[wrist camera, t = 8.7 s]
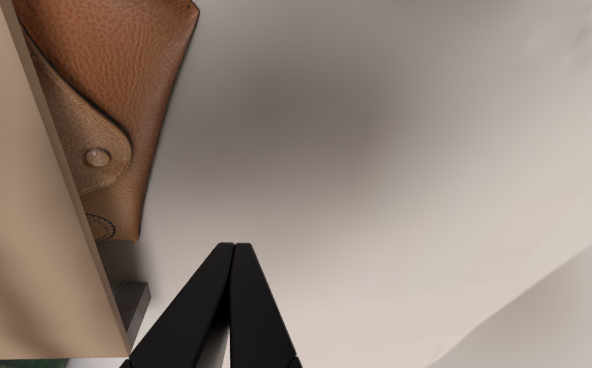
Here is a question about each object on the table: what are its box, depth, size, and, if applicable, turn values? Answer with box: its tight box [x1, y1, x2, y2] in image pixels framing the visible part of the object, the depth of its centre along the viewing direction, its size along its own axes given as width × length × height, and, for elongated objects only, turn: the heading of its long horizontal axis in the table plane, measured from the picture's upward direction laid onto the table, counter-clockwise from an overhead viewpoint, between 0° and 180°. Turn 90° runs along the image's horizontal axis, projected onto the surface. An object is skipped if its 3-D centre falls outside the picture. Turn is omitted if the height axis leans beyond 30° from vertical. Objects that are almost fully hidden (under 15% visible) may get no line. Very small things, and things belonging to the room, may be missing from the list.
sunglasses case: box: [11, 0, 200, 243], centre depth 17 cm, size 18×7×7 cm
